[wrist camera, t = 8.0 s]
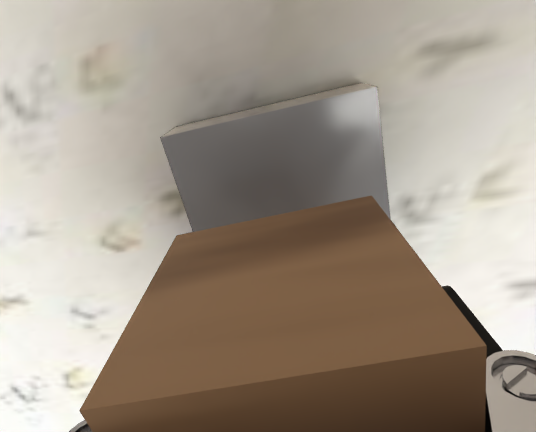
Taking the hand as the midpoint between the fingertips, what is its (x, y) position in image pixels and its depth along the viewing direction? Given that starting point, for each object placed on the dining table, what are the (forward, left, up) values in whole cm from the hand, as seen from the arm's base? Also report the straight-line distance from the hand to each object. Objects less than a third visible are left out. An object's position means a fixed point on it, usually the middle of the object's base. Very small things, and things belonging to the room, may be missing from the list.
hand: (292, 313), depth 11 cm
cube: (0, 0, -1) cm, 1 cm away
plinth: (0, 0, -11) cm, 11 cm away
